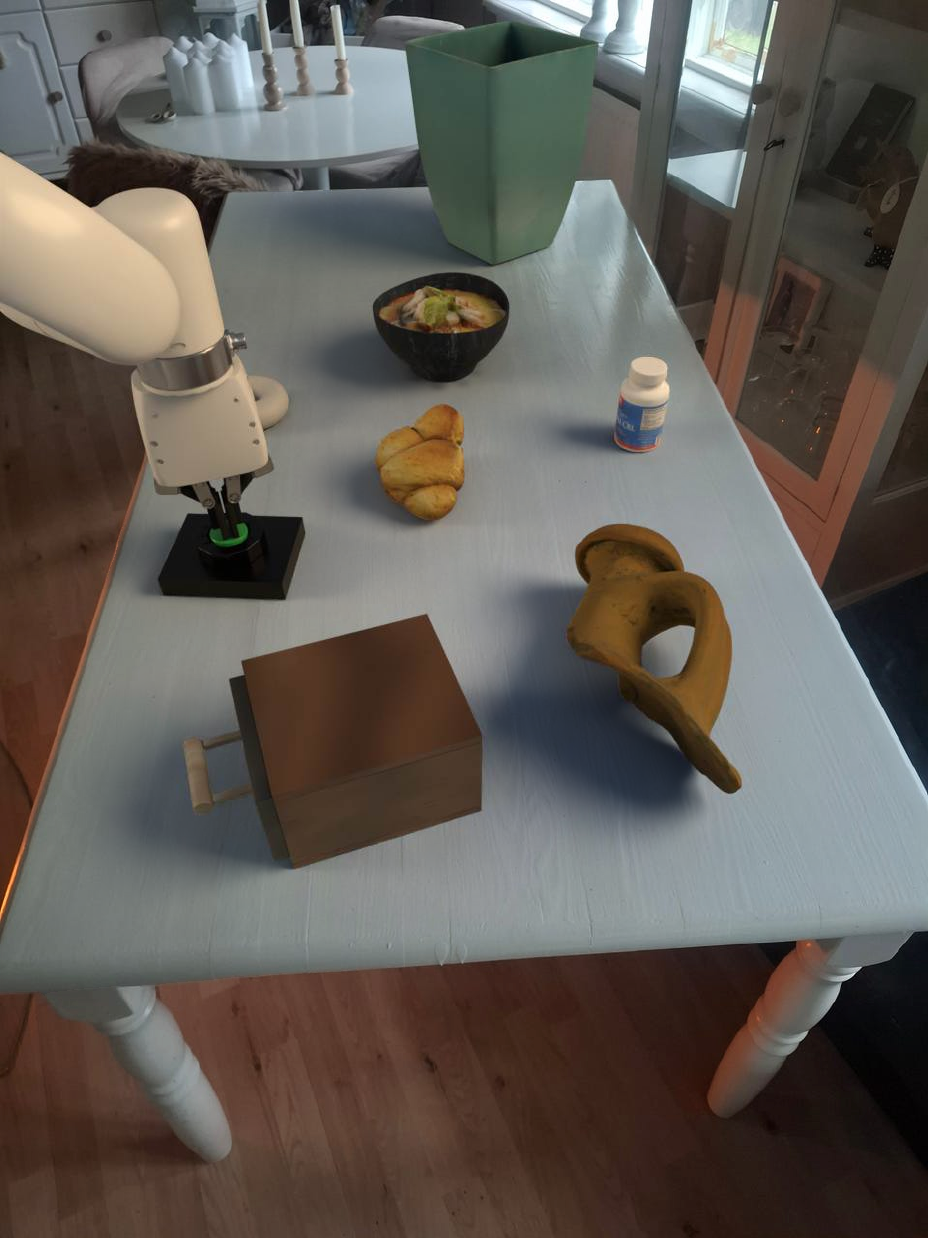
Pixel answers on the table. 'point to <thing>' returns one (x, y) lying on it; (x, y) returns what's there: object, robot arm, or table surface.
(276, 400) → the donut
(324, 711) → the cabinet
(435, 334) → the bowl
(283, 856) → the drawer
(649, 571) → the brown looped sculpture
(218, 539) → the button
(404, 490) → the bread roll
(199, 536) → the block
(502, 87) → the flower pot
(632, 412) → the pill bottle
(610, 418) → the table surface
